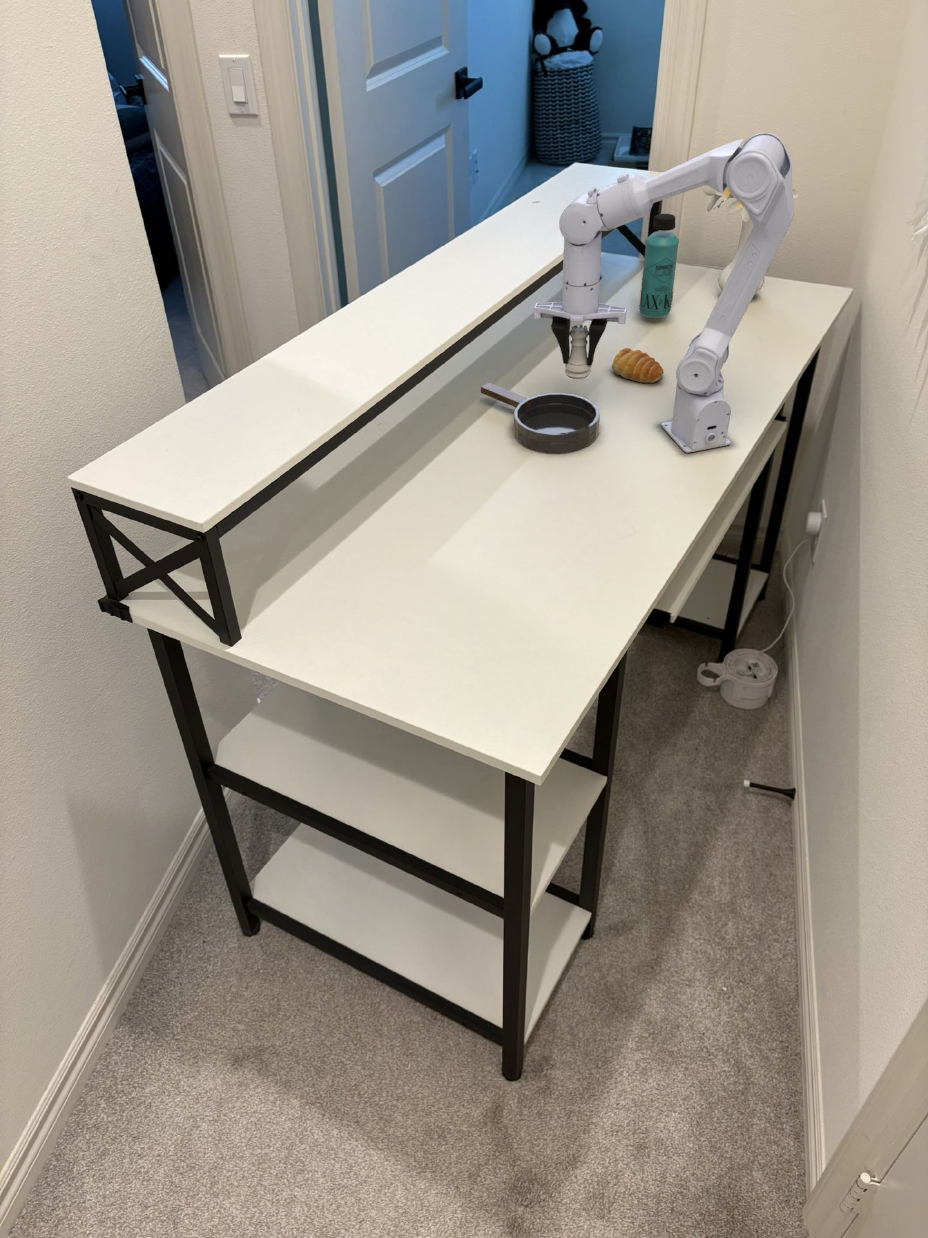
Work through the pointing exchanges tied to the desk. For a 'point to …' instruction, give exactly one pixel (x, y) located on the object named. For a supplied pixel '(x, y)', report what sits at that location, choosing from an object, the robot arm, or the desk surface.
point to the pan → (556, 422)
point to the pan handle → (503, 395)
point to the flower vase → (745, 230)
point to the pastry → (637, 366)
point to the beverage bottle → (659, 268)
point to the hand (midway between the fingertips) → (578, 361)
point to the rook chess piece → (578, 354)
